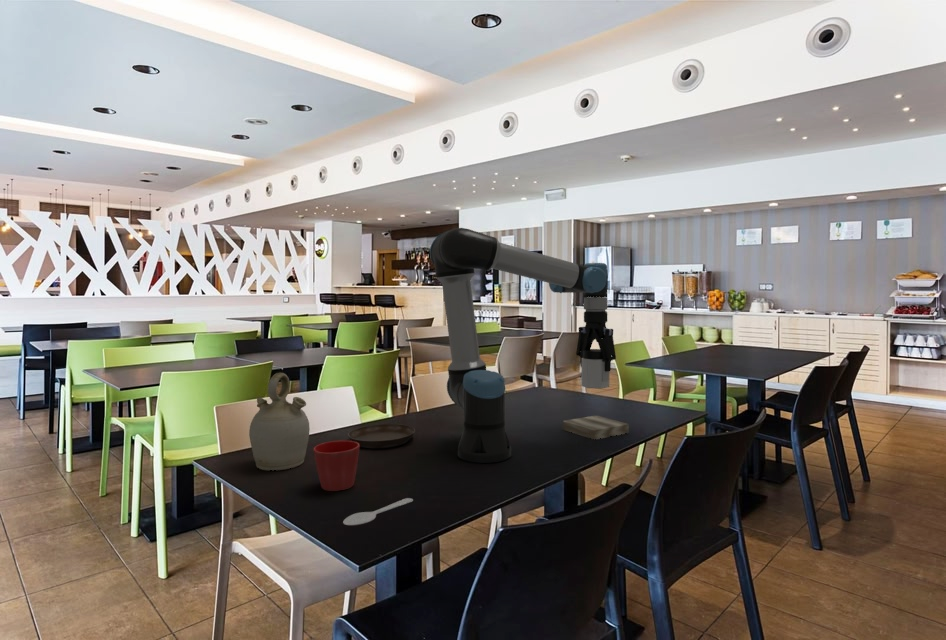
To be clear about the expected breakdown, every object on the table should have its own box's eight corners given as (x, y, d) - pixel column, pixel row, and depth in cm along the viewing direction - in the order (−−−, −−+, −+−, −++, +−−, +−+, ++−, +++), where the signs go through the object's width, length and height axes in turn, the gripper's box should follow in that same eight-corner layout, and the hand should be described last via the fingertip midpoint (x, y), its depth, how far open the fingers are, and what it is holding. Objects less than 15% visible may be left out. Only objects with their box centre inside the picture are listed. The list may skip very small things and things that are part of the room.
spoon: (419, 503, 123) (419, 501, 123) (352, 529, 109) (352, 527, 109) (403, 497, 126) (403, 495, 126) (336, 522, 113) (336, 519, 113)
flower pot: (305, 486, 133) (304, 446, 133) (345, 475, 141) (344, 437, 141) (328, 497, 126) (327, 455, 125) (369, 485, 134) (368, 445, 133)
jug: (322, 460, 154) (320, 370, 152) (276, 476, 140) (274, 378, 139) (284, 452, 161) (282, 367, 160) (237, 467, 148) (234, 374, 147)
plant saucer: (335, 448, 166) (334, 437, 166) (368, 431, 186) (367, 421, 186) (397, 453, 160) (397, 442, 160) (425, 435, 180) (425, 425, 180)
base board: (594, 439, 173) (594, 430, 172) (562, 429, 185) (562, 420, 185) (628, 433, 180) (628, 424, 180) (596, 423, 193) (596, 415, 193)
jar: (598, 389, 176) (598, 352, 175) (577, 386, 182) (577, 350, 181) (613, 386, 182) (613, 350, 182) (592, 383, 188) (592, 348, 188)
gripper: (628, 311, 174) (627, 382, 175) (581, 309, 192) (581, 374, 193) (610, 311, 170) (610, 385, 171) (565, 310, 188) (565, 376, 189)
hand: (595, 379), depth 182 cm, fingers closed on jar, 9 cm apart
